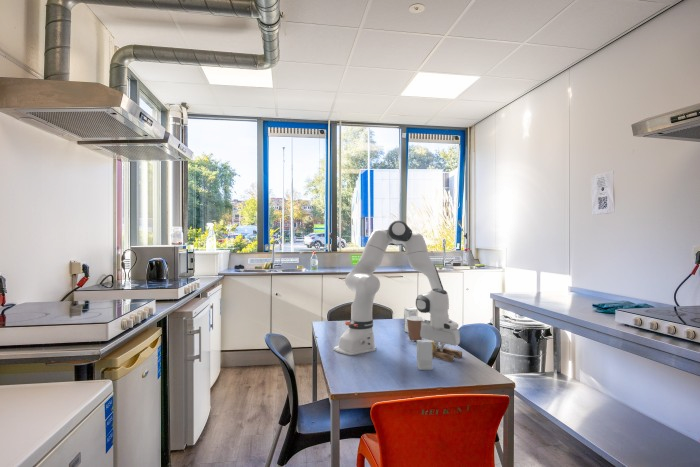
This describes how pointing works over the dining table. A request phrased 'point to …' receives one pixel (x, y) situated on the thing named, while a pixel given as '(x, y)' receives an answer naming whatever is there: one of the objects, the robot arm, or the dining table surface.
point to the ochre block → (433, 346)
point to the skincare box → (424, 354)
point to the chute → (447, 354)
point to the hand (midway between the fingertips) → (439, 350)
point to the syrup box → (407, 313)
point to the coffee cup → (414, 327)
